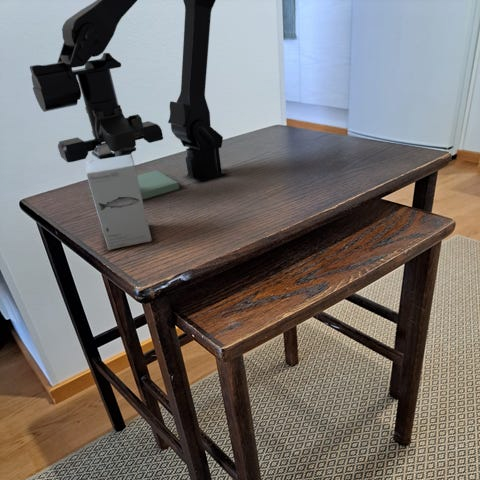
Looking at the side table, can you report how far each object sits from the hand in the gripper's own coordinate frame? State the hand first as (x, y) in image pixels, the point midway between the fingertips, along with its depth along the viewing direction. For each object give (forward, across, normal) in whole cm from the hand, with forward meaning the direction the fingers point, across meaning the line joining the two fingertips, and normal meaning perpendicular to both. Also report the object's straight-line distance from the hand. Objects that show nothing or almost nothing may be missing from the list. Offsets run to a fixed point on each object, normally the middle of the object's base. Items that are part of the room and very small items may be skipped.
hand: (123, 185), depth 89 cm
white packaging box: (+3, -6, -18) cm, 19 cm away
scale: (+3, +4, +4) cm, 6 cm away
